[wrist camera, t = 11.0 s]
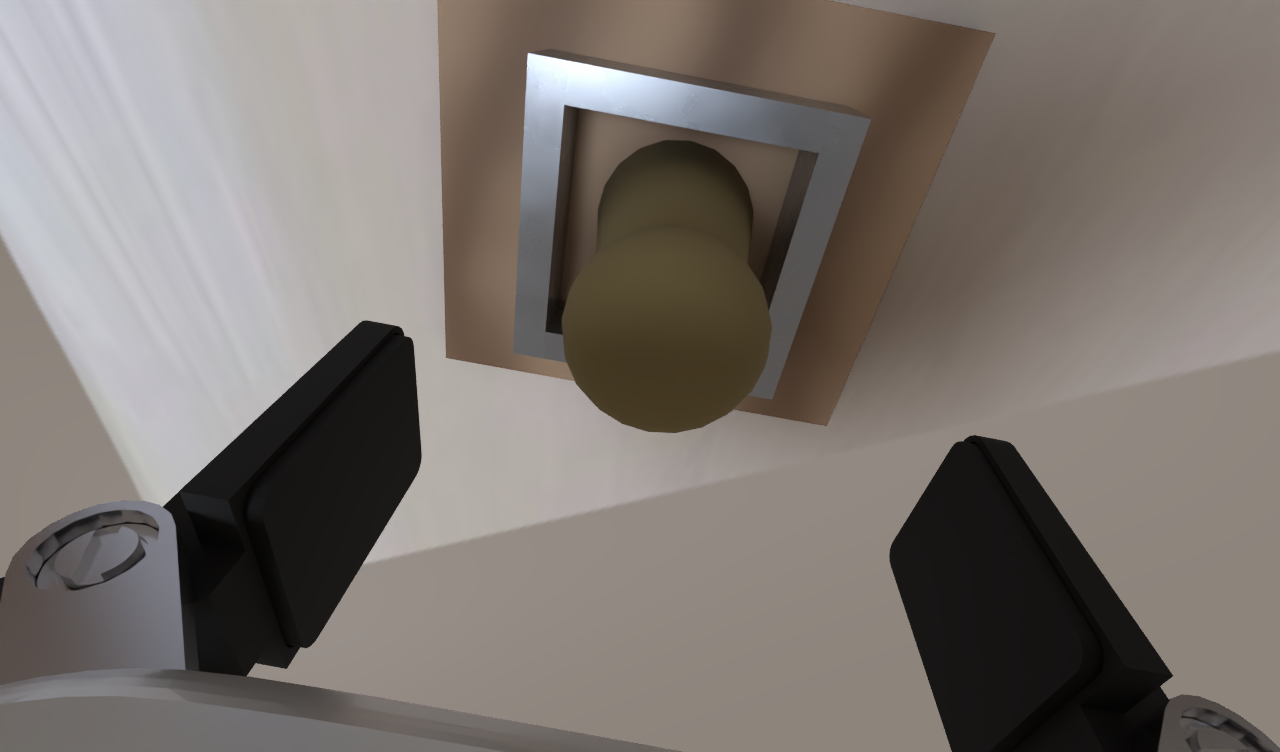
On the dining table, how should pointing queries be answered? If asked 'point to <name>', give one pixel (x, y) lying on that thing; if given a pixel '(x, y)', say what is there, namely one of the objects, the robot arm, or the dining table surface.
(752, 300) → the cork
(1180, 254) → the dining table surface
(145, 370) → the dining table surface
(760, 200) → the collar board
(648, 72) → the collar
